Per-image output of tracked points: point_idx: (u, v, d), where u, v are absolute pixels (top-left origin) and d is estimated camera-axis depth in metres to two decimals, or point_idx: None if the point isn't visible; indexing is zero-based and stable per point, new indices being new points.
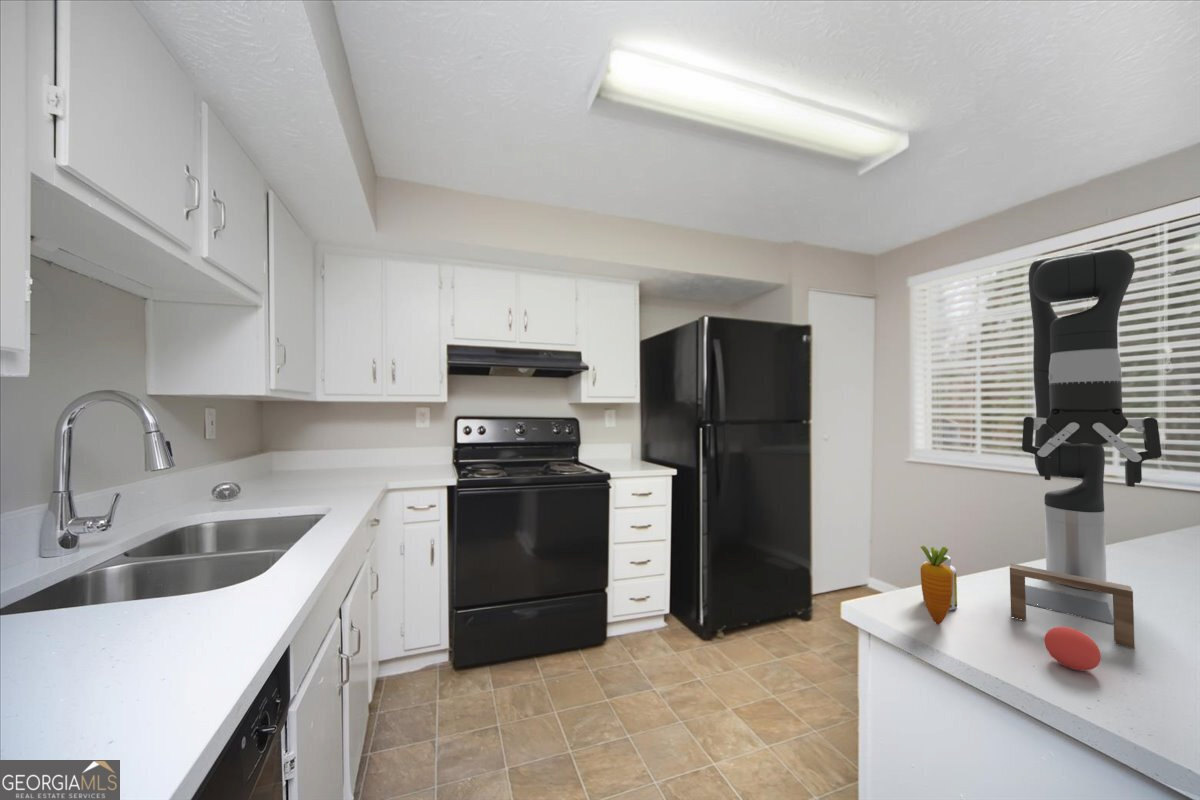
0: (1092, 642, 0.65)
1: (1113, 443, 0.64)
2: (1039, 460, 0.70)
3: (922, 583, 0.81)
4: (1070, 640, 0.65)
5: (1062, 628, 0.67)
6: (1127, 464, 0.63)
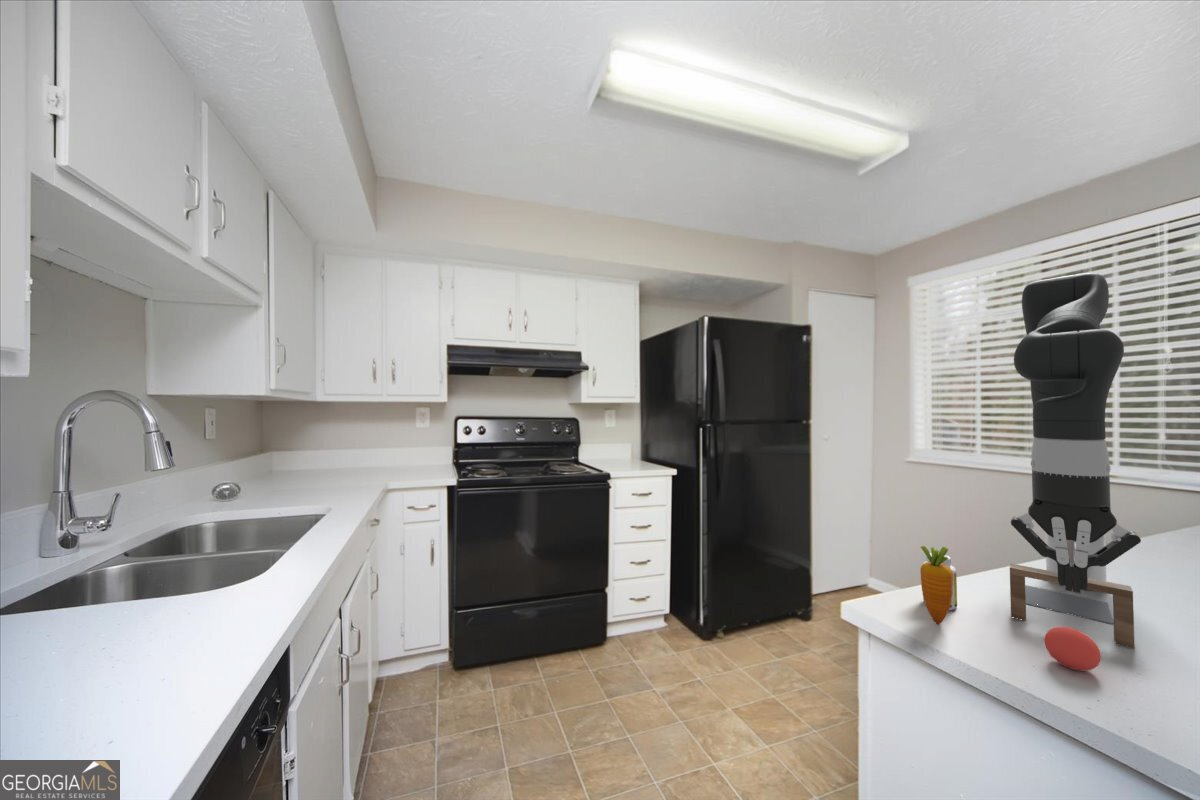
0: (1092, 642, 0.65)
1: (1078, 543, 0.59)
2: (1059, 567, 0.61)
3: (922, 583, 0.81)
4: (1070, 640, 0.65)
5: (1062, 628, 0.67)
6: (1073, 569, 0.60)
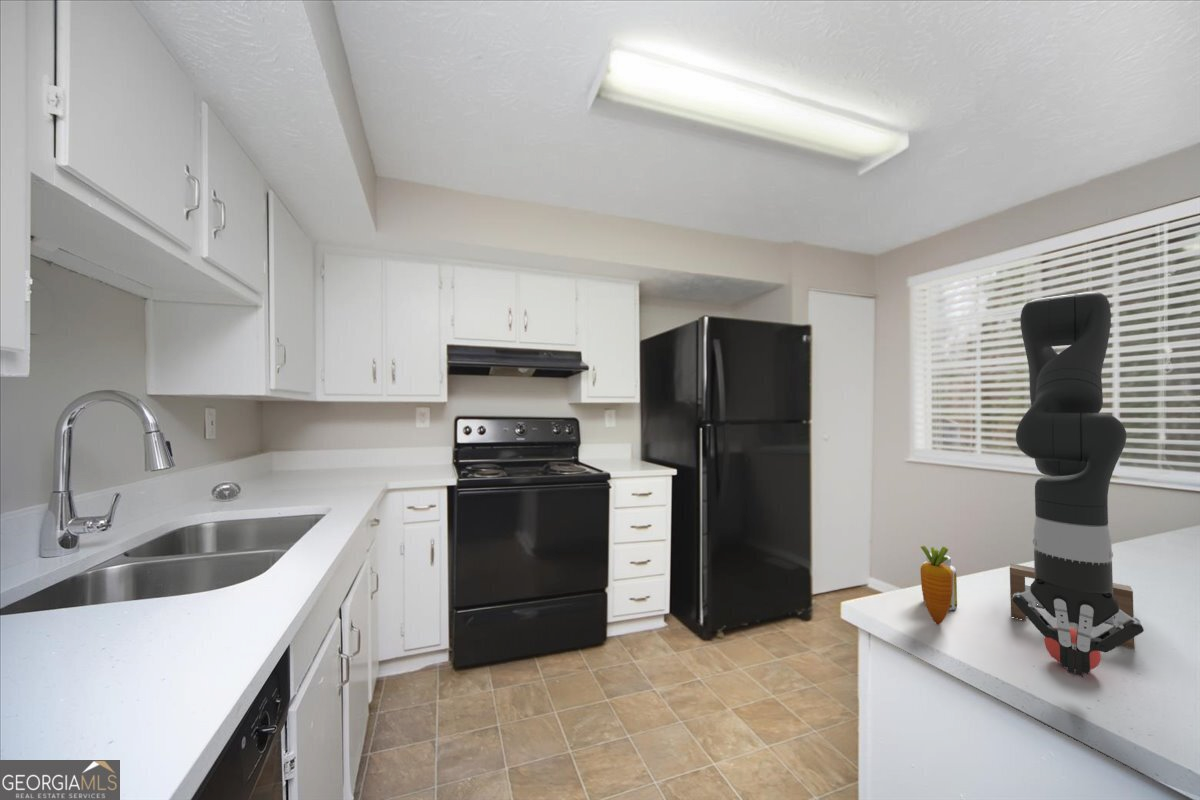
0: None
1: (1080, 627, 0.59)
2: (1061, 648, 0.61)
3: (922, 583, 0.81)
4: None
5: None
6: (1075, 652, 0.60)
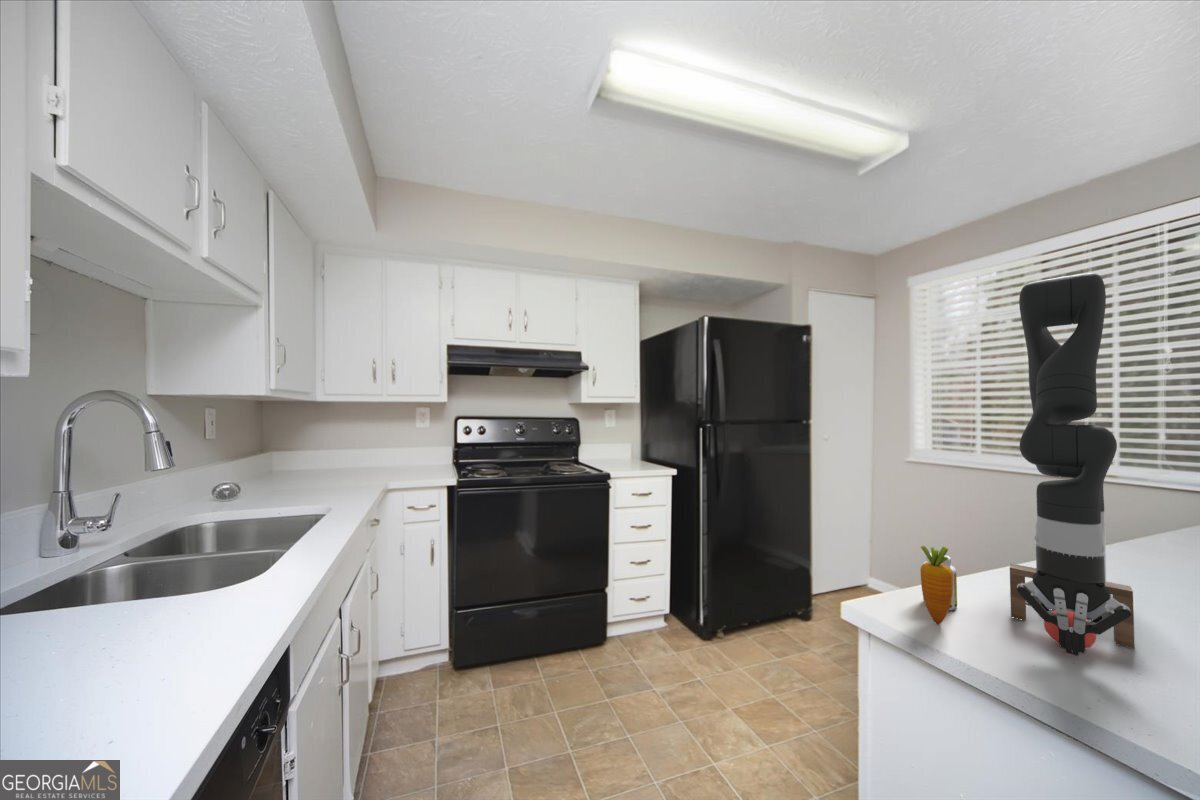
0: None
1: (1077, 612, 0.67)
2: (1060, 631, 0.69)
3: (922, 583, 0.81)
4: None
5: None
6: (1072, 634, 0.68)
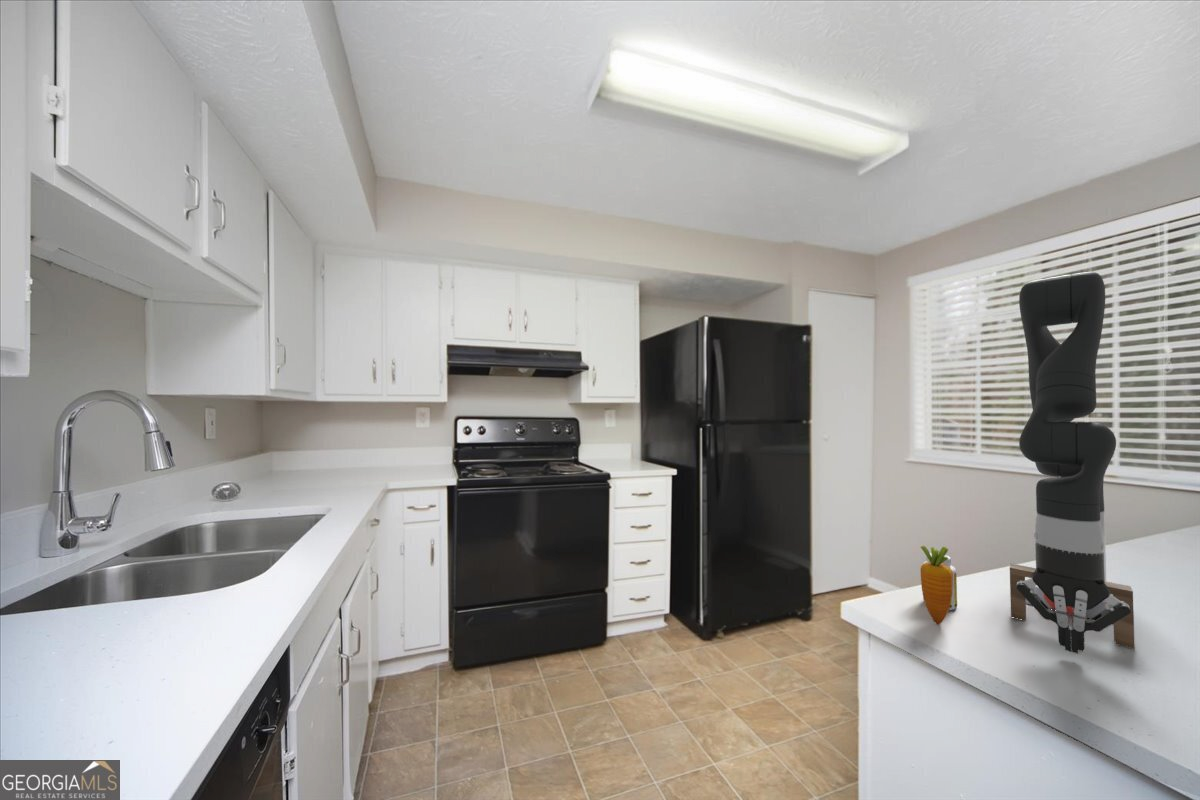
0: None
1: (1076, 610, 0.67)
2: (1059, 629, 0.69)
3: (922, 583, 0.81)
4: None
5: None
6: (1071, 632, 0.68)
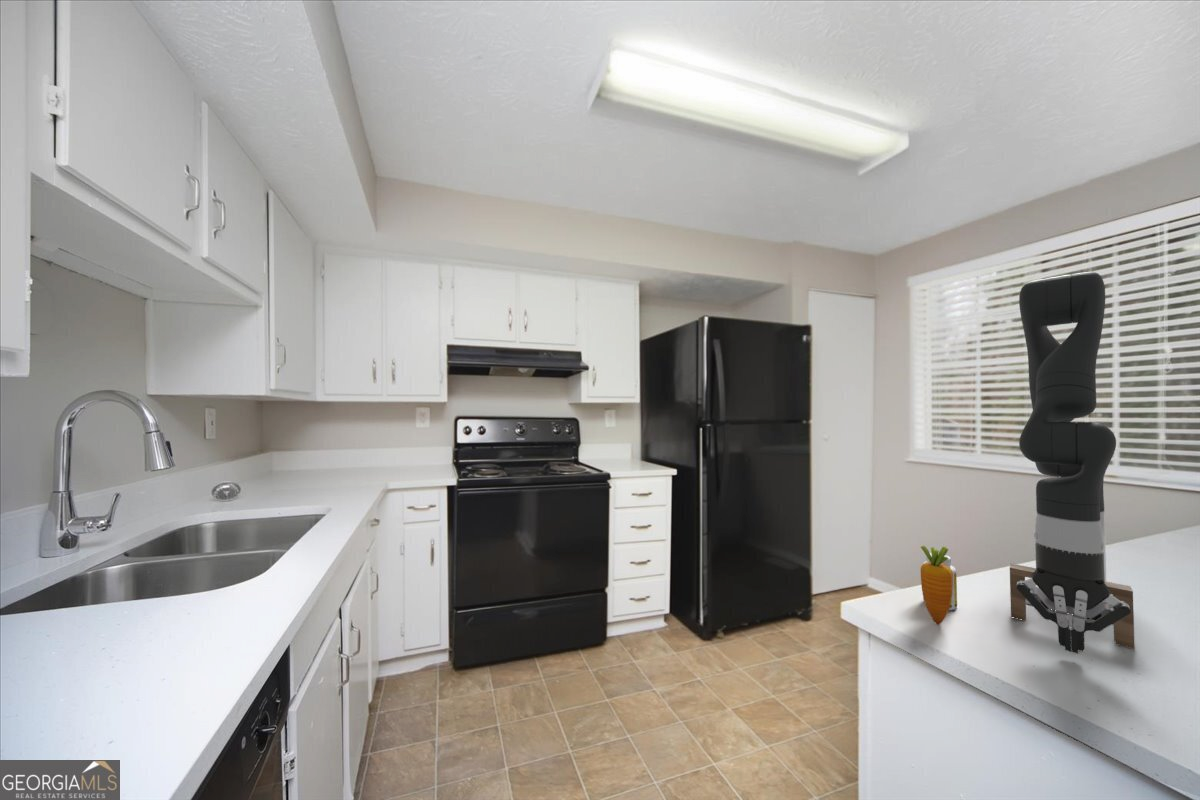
0: None
1: (1076, 610, 0.67)
2: (1059, 629, 0.69)
3: (922, 583, 0.81)
4: None
5: None
6: (1071, 632, 0.68)
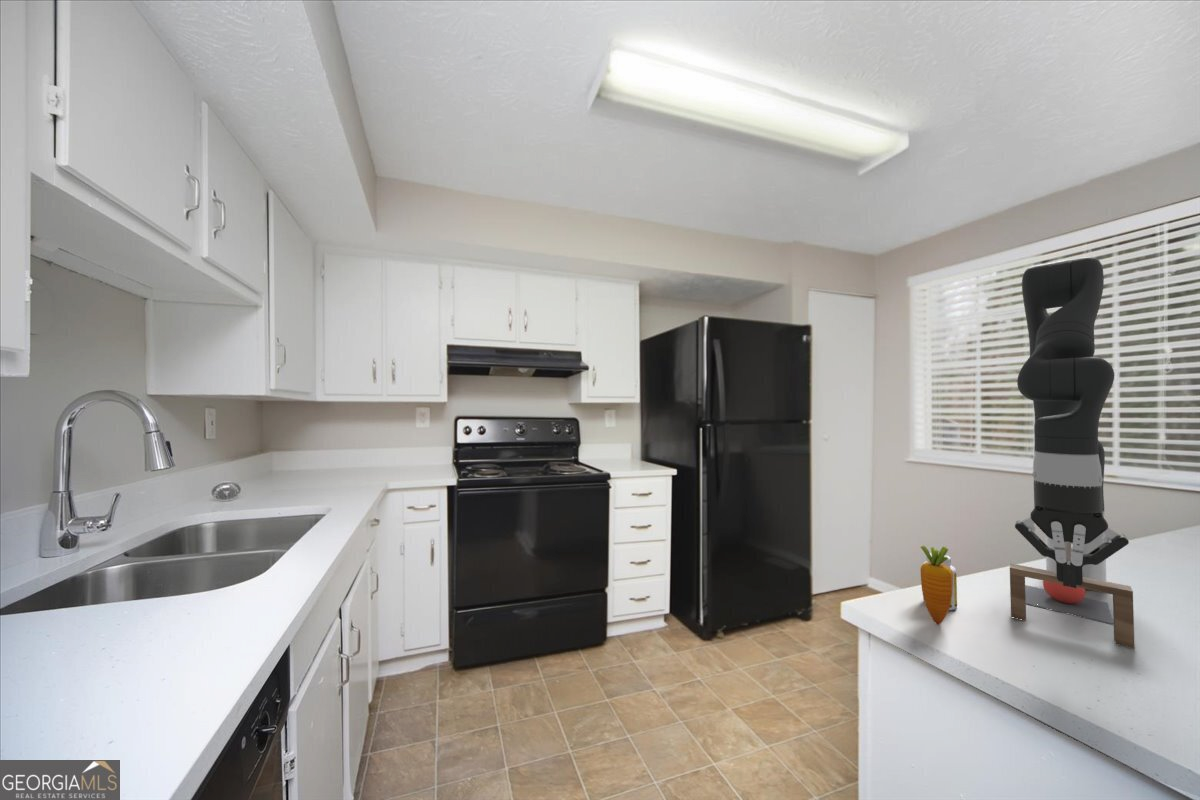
0: (1079, 601, 0.86)
1: (1074, 544, 0.67)
2: (1057, 565, 0.69)
3: (922, 583, 0.81)
4: None
5: (1057, 600, 0.88)
6: (1070, 567, 0.68)
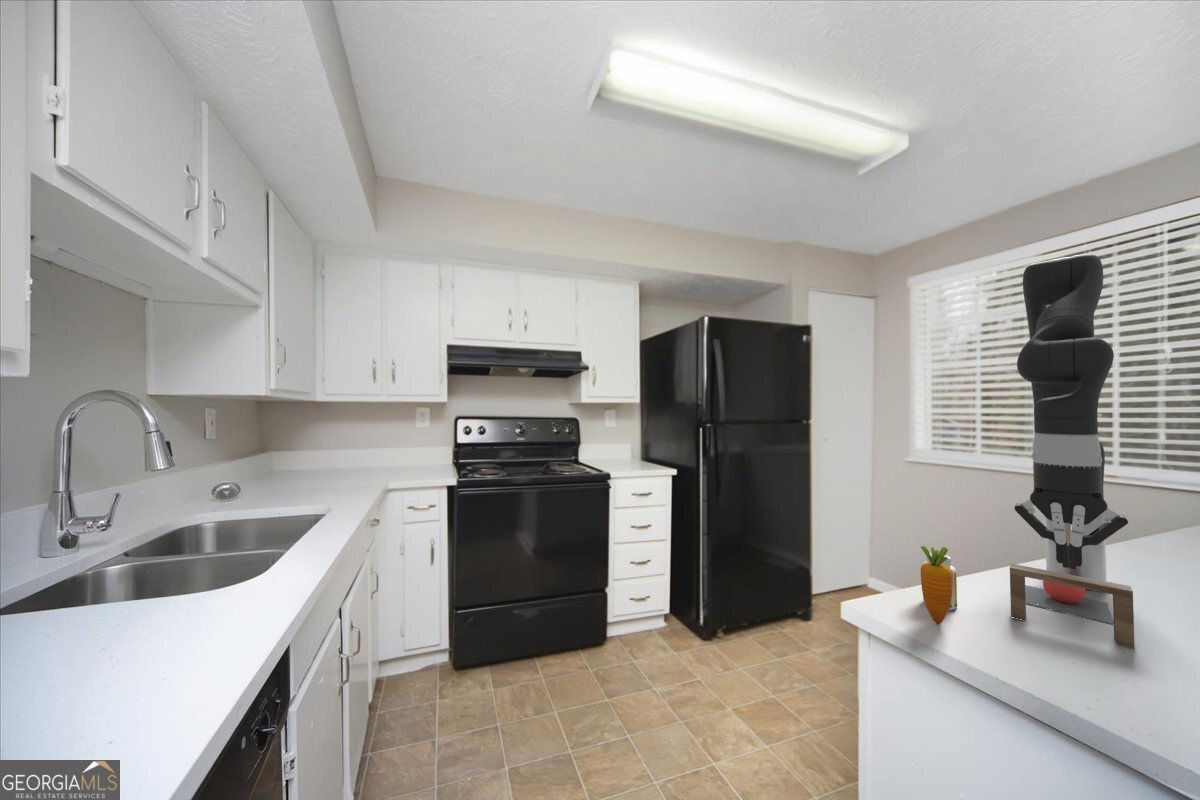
0: (1079, 601, 0.86)
1: (1074, 525, 0.67)
2: (1057, 547, 0.69)
3: (922, 583, 0.81)
4: None
5: (1057, 600, 0.88)
6: (1069, 548, 0.68)
